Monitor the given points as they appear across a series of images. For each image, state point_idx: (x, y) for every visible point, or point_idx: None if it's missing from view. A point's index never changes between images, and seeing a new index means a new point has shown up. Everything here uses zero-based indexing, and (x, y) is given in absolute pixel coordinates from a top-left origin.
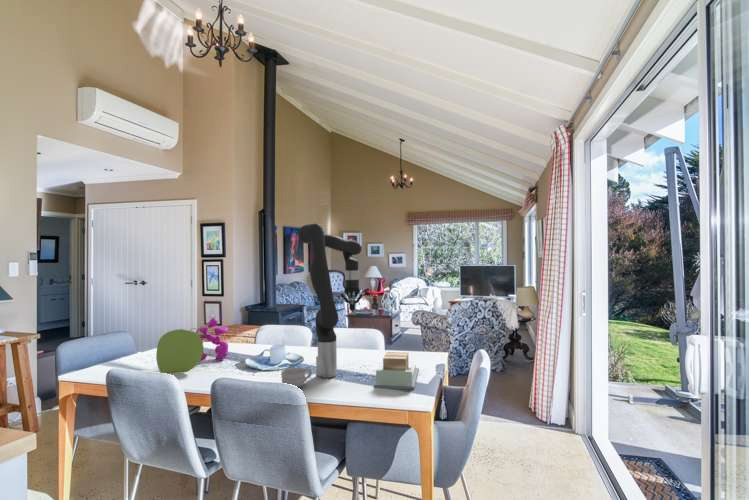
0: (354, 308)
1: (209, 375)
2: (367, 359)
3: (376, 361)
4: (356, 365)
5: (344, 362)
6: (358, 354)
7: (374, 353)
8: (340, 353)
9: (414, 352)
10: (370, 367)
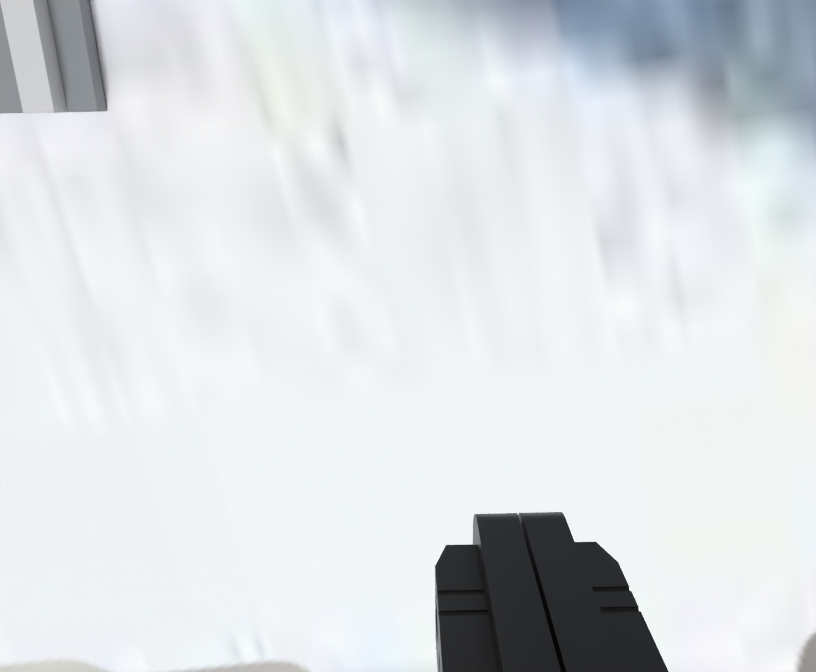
0: (439, 578)
1: None
2: (343, 400)
3: (248, 350)
4: (392, 196)
5: (525, 279)
6: (457, 535)
7: (331, 579)
8: (616, 544)
9: (20, 644)
10: (246, 147)
